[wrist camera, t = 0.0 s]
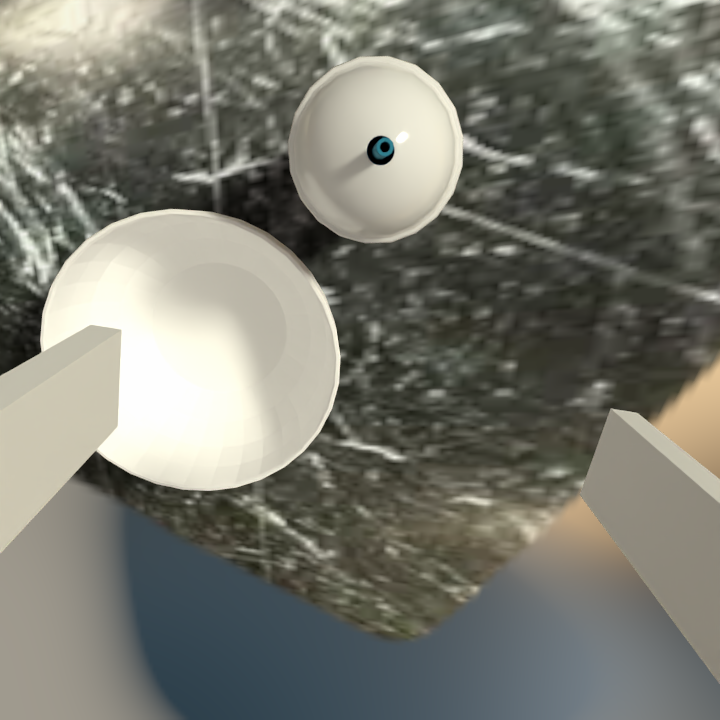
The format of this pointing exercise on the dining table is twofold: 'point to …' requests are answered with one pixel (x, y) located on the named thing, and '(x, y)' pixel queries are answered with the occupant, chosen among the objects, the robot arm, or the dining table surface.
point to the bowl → (202, 345)
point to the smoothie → (375, 149)
